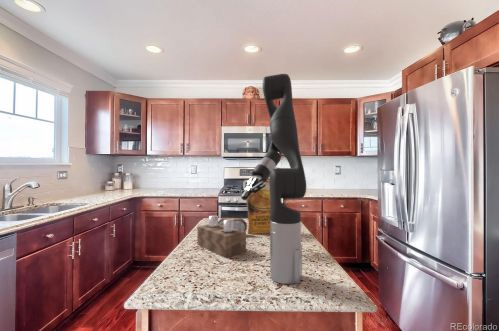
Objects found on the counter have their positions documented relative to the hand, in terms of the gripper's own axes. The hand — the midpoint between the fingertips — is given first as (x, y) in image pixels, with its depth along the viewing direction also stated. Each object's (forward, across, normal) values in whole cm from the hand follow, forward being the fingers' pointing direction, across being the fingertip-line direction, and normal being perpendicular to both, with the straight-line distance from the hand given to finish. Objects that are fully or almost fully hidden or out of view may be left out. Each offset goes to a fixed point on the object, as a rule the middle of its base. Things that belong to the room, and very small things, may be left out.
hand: (243, 198), depth 105 cm
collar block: (+20, -6, +9) cm, 23 cm away
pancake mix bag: (-2, -14, +31) cm, 34 cm away
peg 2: (+16, 0, +6) cm, 18 cm away
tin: (+9, -20, +21) cm, 30 cm away
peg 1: (+17, -11, +6) cm, 21 cm away
